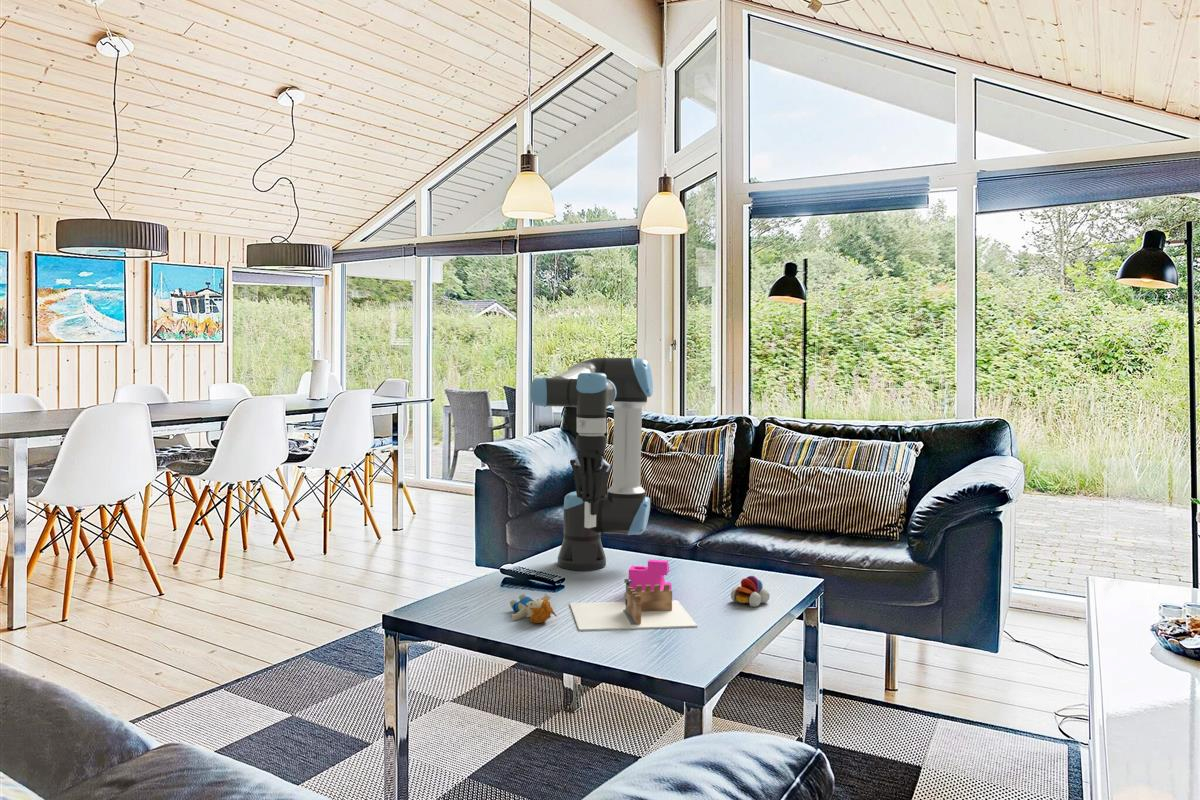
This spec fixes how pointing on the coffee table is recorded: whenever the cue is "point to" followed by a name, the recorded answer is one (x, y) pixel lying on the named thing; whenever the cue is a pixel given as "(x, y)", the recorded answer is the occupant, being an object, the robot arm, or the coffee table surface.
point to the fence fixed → (655, 598)
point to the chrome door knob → (627, 583)
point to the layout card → (627, 617)
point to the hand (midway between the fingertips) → (590, 526)
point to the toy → (532, 608)
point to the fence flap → (633, 605)
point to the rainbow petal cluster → (750, 592)
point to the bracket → (650, 574)
